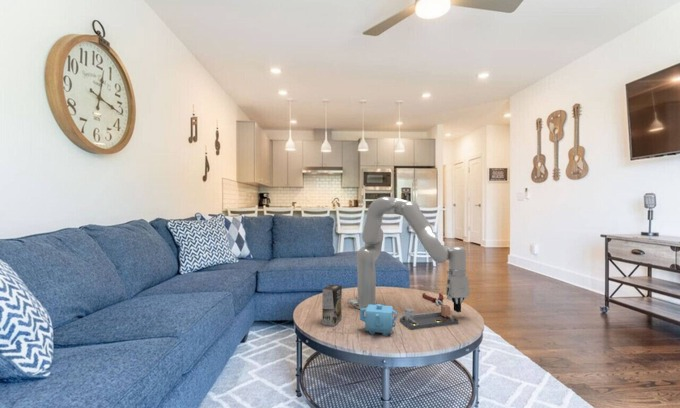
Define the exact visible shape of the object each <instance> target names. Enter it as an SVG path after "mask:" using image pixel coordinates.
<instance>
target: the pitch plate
mask: <svg viewBox="0 0 680 408" xmlns="http://www.w3.org/2000/svg"><path fill="white" fill-rule="evenodd" d="M451 317H452V318H449V317H444V316H442V315H441V310H440V311H433V312H432V311H431V312H423V313H415V310H414V309H412V308H410V307H409V308H404V315H403V314H402V315H401V316H400V317H399V323H401V324H403V325H404V327H406V328H408V329H409V330H410V331H412V330H420V329H428V328H435V327H436V328H437V327H444V326H450V325H458V324H459V320H458V319H456V318H454V317H453V316H451Z"/></svg>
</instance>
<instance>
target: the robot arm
mask: <svg viewBox="0 0 680 408" xmlns="http://www.w3.org/2000/svg"><path fill="white" fill-rule="evenodd" d="M384 214H394V215H398V216H403V218H404V219H405V221H406V222H407V223H408V225H409V226H410V227H411V228H410V229H412V230H413V232H414V233H415V235H416V237H417V238H418V240H419V242H420V244H421V245H422V246H423V248H424V249H425V251H426V252H427V254H428V255H429V257H430V258H431V259H432V260H433V261H434V262H435V263H438V264H443V263H445V262H446V261H447V260H448V270H447V271H446V273H447V274H448V275H447V279H446V285H445V293H446V299H447V300H449V301H451V302H452V303H453V311H454V312H456V313H461V312H462V304H463V302H464V300H467V298H468V297H469V296H470V284H469V282H470V281H469V279H468V278H469V277H468V275H467V273H466V272H467V271H466V270H467V268H466V267H467V265H466V264H467V261H466V259H467V257H466V256H467V255H466V253H467V252H466V251H467V250H466V248H465V247H464V246H458V245H457V246H456V245H455V246H450V245H444V244H441V242H440V240H439V239H438V237H437V235H435V232H434V229H433V226H432V225H431V223H430V222H429V220H428V219H427V218H426V217H425V215H424V213H423V212H422V211H421V209H420V205H419V203H417V202H415V201H411V200H407V199H401V198H397V197H391V196H380V197H378V198H376V199H374V200H373V201H372V202H371V203H370V205H369V206H368V208H367V212H366V216H365V221H364V226H363V231H362V236H361V238H362V241H363V242H364V246H363V247H361V248H359V250H358V251H357V253H356V255H355V260H356V266H357V267H356V268H357V270H356V271H357V296H356V297H355V298H354V299H348V304H349V305H350V304H351V305H354V307H355V308H356V309H358V310H360V309H362V308H367V307H368V304H370V305H377V304H379V303H378V302H376V301H377V300H376V296H377V295H376V293H377V292H376V289H377V288H376V285H377V283H376V277H377V276H376V266H375V265H376V264H375V262H376V261H378V259H379V257H380V254H381V250H382V245H383V241H384V231H383V229H382V223H383V216H384Z"/></svg>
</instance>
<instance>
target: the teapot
mask: <svg viewBox="0 0 680 408" xmlns="http://www.w3.org/2000/svg"><path fill="white" fill-rule="evenodd" d="M393 314H395V316H394V315H393ZM397 318H398V312H397V311H396V310H395V309H394V307H393V306H392V305H383V304H381V303H378V304H377V305H370V304H368V307H367V308H362V309H359V319H360V321H362V322H364V324H365V332H369V334H370V335H375V334H376V333H382V336H385V337H387V336H389V334H392V332H393V328H395V327H397V324H396V322H395V321H396V320H397Z"/></svg>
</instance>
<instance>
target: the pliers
mask: <svg viewBox="0 0 680 408" xmlns="http://www.w3.org/2000/svg"><path fill="white" fill-rule="evenodd" d="M422 297H423V299H424V300H426V301H430V302H431V303H432V304H434V303H435V305H437V306H438V307H439V306H441V305H444V304H443V300H444V295H443V294H442V293H438V298H436V297H433V296H430V295H427V294H426V293H425V292H423V293H422Z"/></svg>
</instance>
